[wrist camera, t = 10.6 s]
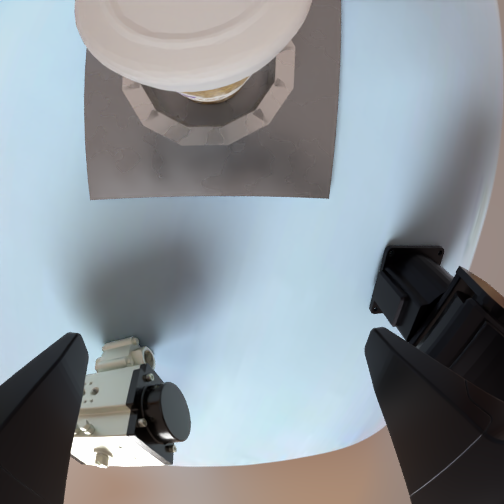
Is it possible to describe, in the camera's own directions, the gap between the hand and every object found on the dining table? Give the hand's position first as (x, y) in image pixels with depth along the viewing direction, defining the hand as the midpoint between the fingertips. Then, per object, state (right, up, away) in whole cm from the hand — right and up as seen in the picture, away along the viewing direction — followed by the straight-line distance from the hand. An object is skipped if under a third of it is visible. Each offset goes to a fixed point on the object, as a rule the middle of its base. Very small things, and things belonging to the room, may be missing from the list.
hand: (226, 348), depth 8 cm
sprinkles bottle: (-2, +14, +7) cm, 15 cm away
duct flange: (-2, +14, +8) cm, 16 cm away
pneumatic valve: (-11, -6, +17) cm, 21 cm away
